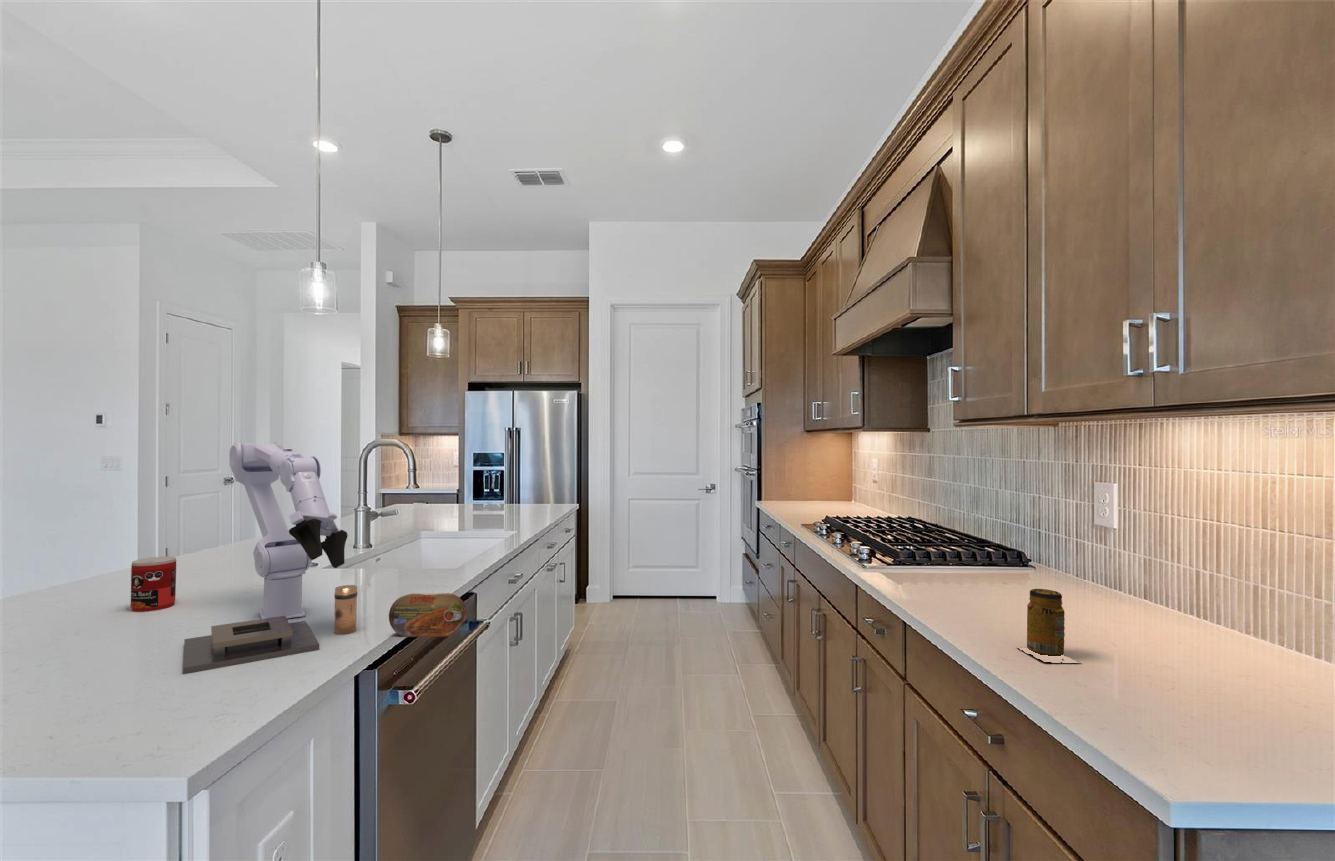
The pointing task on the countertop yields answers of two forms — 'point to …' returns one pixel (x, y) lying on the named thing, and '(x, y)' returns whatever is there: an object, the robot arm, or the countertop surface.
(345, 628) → the tan rectangular block
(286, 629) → the grey slotted base plate
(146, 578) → the canned food
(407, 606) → the tin
